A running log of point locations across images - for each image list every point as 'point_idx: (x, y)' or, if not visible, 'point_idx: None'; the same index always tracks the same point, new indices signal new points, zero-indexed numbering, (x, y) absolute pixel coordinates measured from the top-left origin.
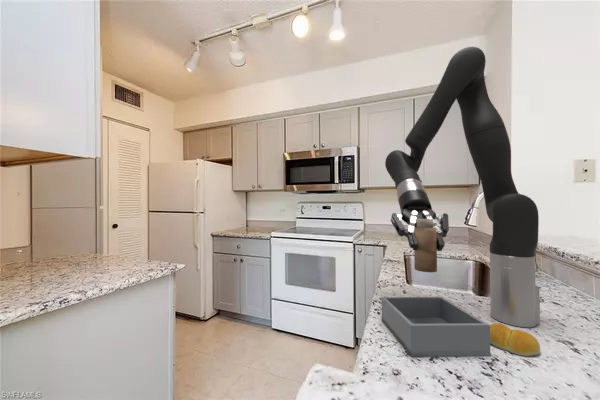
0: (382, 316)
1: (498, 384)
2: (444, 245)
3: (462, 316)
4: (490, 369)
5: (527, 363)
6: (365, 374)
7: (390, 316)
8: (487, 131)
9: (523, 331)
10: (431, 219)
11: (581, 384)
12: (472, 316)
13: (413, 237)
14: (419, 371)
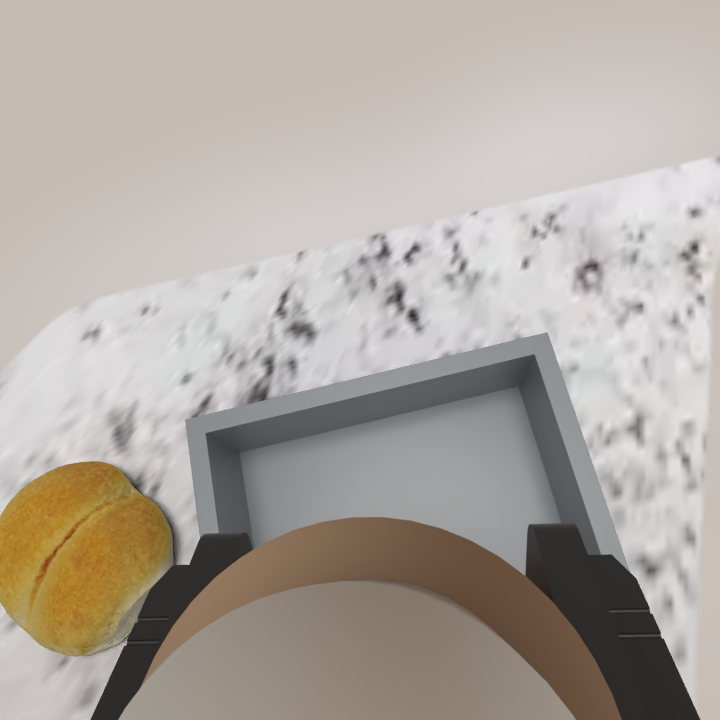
0: None
1: (295, 288)
2: (174, 570)
3: None
4: (276, 358)
5: (129, 423)
6: (689, 241)
7: None
8: None
9: (6, 561)
10: (201, 634)
11: (58, 342)
12: (211, 508)
13: (607, 631)
14: (512, 295)
